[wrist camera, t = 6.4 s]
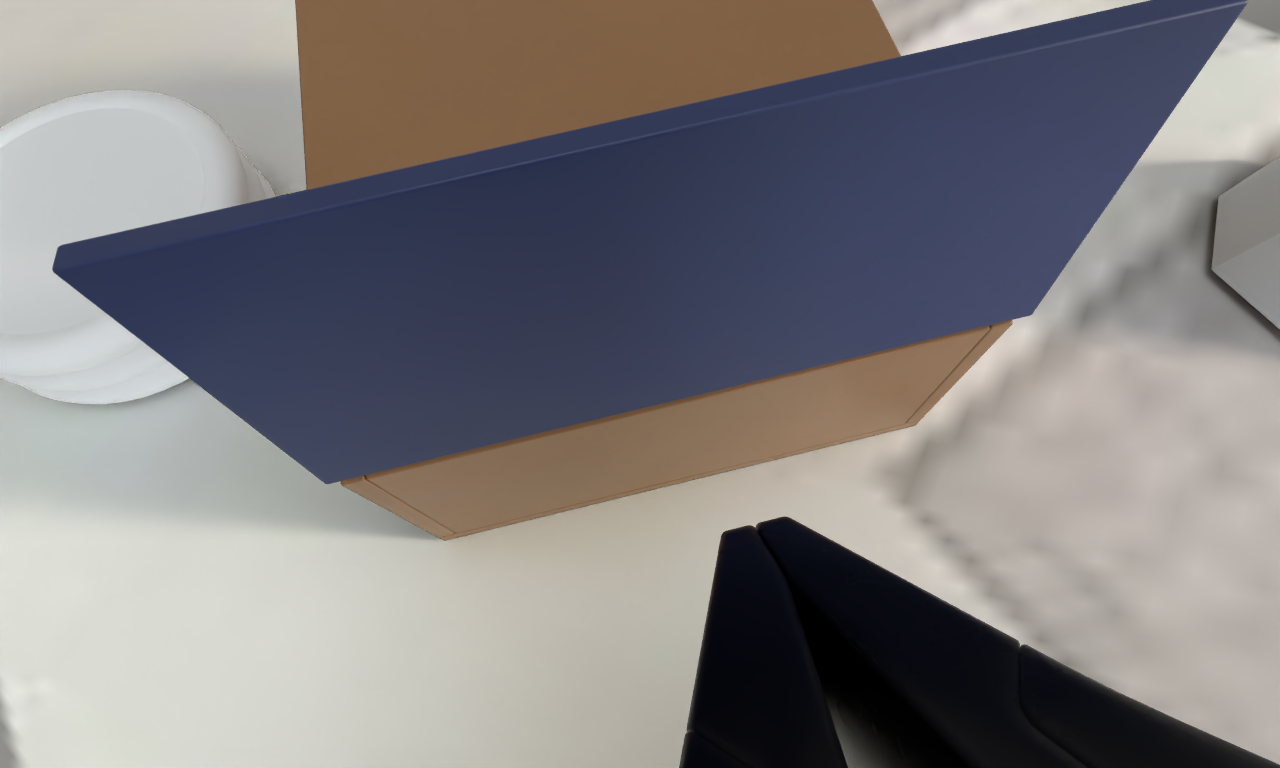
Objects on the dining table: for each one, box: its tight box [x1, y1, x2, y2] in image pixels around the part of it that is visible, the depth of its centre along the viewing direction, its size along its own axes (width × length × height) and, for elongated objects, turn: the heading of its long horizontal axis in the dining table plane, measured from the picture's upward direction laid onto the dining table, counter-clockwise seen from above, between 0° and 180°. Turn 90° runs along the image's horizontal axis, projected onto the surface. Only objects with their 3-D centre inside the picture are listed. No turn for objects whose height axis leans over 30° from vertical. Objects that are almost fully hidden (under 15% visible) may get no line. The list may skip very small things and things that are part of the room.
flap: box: [52, 0, 1248, 484], centre depth 11 cm, size 6×14×1 cm
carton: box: [295, 0, 1012, 540], centre depth 19 cm, size 13×14×7 cm
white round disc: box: [0, 90, 276, 404], centre depth 22 cm, size 10×10×4 cm
